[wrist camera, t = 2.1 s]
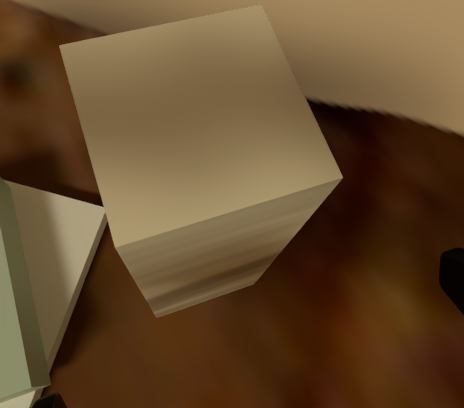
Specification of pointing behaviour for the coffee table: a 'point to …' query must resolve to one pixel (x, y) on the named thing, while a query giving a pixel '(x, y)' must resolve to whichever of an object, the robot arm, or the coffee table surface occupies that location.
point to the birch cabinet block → (199, 151)
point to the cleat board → (39, 282)
